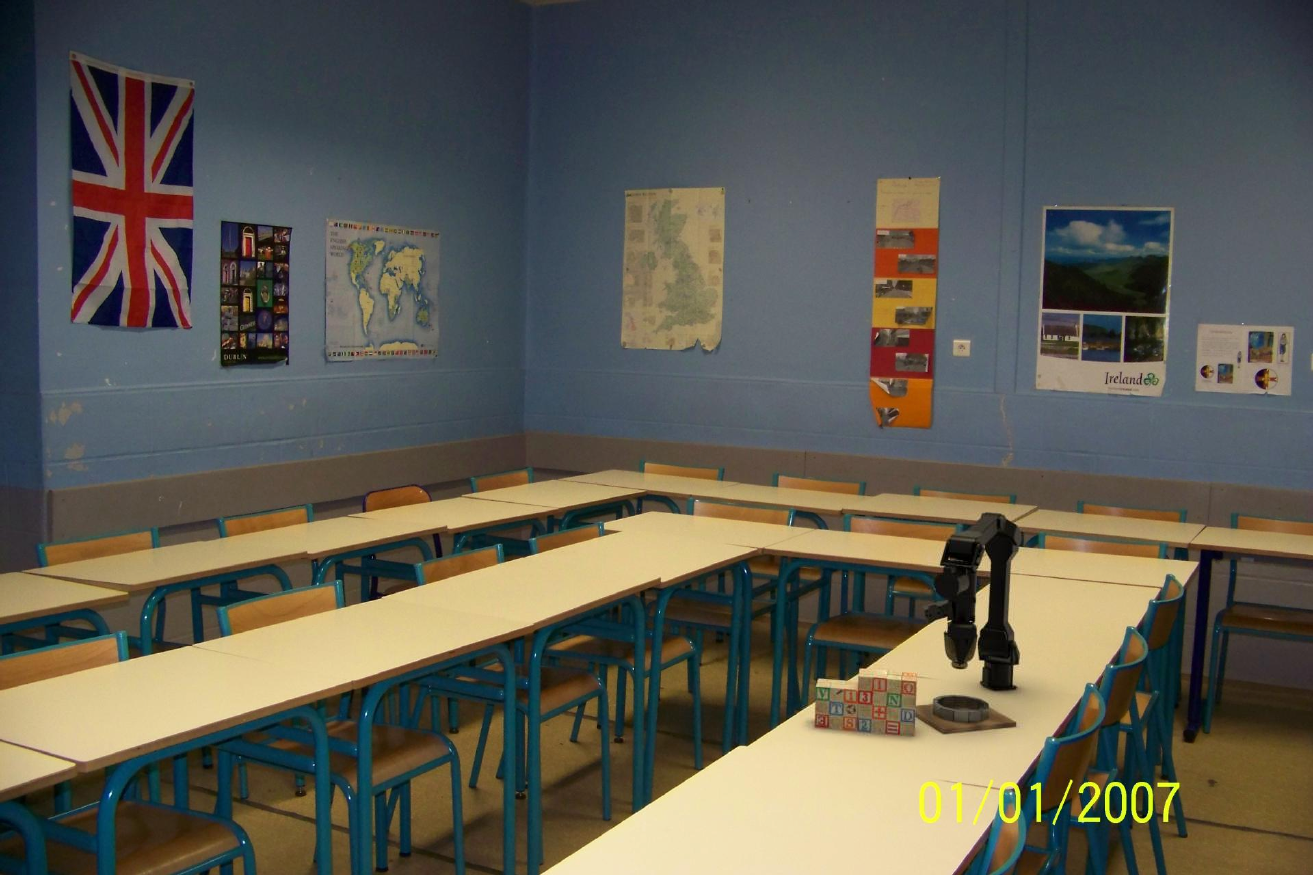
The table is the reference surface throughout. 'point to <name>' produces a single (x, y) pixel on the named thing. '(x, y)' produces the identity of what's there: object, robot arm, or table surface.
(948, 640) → the cup
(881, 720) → the stack of blocks
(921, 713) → the base plate
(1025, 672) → the table surface
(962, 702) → the gray stone ring
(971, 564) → the robot arm
